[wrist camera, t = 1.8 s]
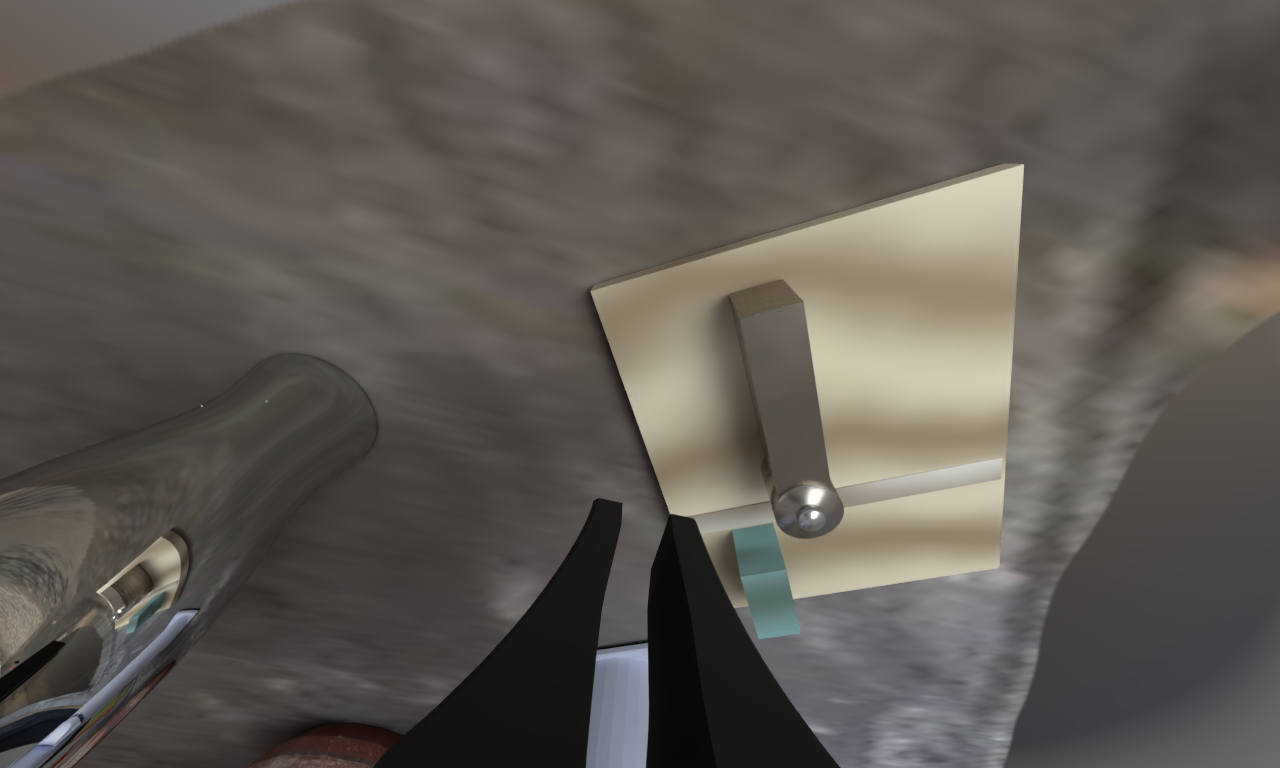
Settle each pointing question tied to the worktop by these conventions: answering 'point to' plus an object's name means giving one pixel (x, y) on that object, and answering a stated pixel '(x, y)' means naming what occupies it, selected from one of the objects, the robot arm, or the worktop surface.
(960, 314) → the board
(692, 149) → the worktop surface
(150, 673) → the beer glass
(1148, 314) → the worktop surface
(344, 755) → the pottery
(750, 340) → the swing bar
